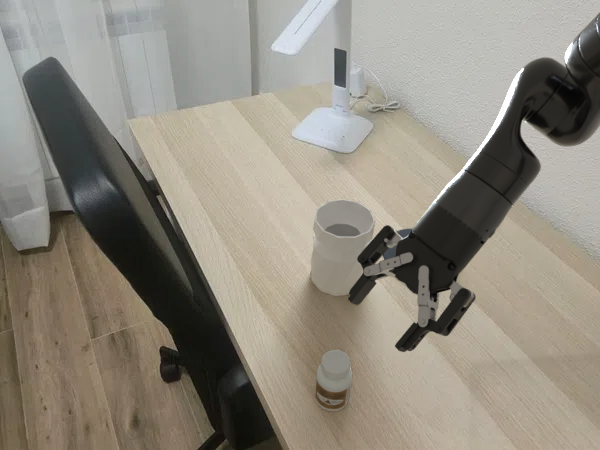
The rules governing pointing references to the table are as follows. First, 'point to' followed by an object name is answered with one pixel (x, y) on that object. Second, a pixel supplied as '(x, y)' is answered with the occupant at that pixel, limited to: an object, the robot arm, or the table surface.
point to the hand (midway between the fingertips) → (375, 325)
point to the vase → (339, 245)
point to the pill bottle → (333, 381)
